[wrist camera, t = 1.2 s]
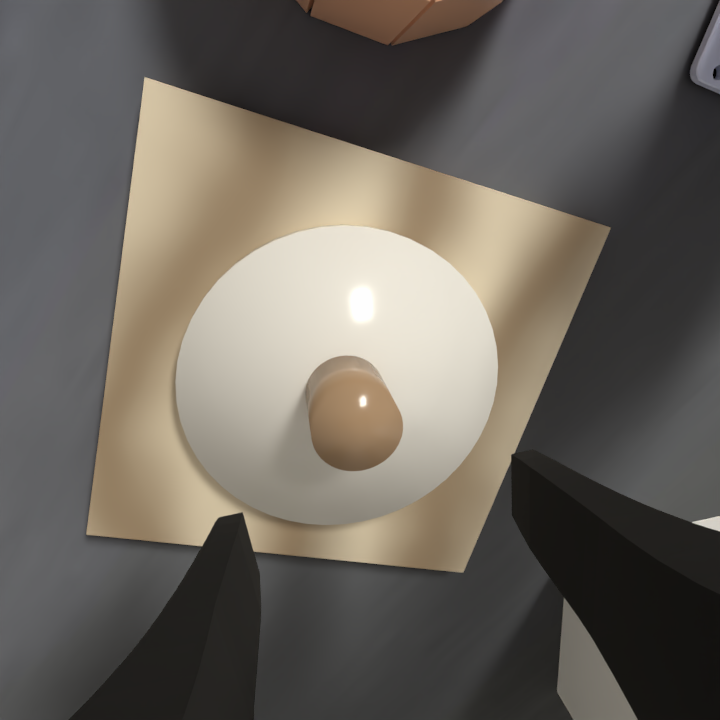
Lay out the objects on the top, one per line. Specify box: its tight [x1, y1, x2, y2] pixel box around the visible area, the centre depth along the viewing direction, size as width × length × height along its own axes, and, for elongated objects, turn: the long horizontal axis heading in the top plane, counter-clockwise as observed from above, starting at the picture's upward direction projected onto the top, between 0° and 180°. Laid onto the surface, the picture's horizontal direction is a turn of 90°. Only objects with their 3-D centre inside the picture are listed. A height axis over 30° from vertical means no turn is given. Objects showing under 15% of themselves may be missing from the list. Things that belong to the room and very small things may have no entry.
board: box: [86, 77, 611, 573], centre depth 21 cm, size 18×18×1 cm
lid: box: [175, 224, 498, 525], centre depth 19 cm, size 13×13×4 cm
